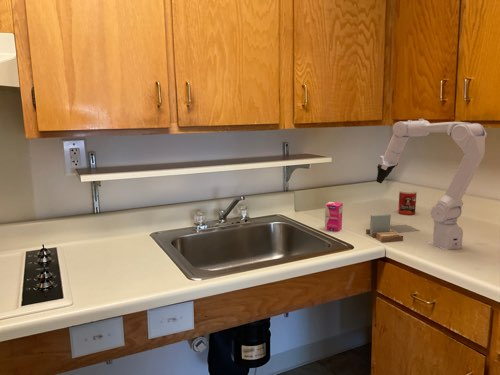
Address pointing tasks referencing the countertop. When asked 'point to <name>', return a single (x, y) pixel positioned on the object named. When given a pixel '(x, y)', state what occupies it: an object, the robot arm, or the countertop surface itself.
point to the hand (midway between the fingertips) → (381, 179)
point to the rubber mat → (403, 228)
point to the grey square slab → (380, 223)
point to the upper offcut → (387, 234)
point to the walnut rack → (385, 239)
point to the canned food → (407, 202)
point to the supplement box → (333, 216)
